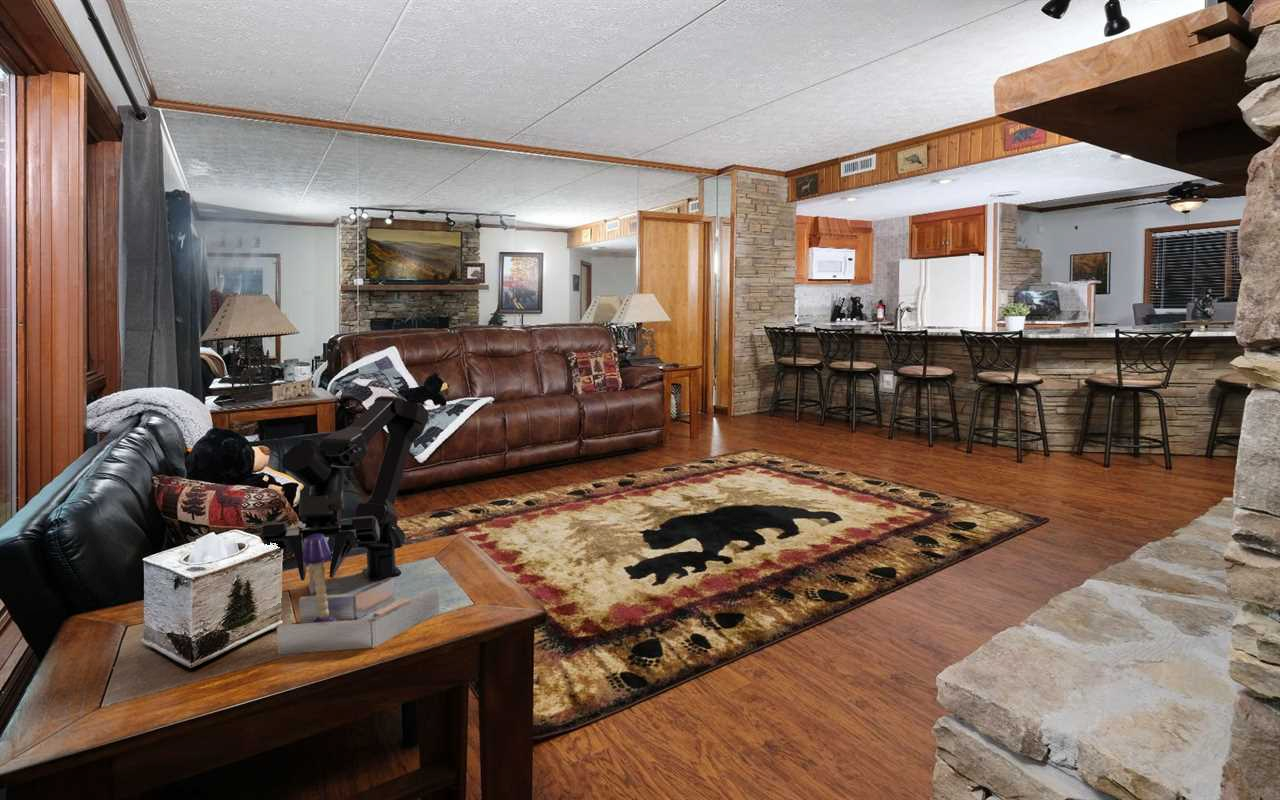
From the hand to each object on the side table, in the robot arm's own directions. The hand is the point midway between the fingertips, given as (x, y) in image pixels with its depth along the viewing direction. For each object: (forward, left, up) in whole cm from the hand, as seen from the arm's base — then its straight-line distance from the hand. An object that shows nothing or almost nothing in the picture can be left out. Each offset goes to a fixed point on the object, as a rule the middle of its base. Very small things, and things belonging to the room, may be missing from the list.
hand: (316, 578), depth 116 cm
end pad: (-2, +15, -11) cm, 18 cm away
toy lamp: (-1, +1, -10) cm, 10 cm away
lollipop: (-21, +3, -11) cm, 24 cm away
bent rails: (0, +7, -11) cm, 13 cm away
